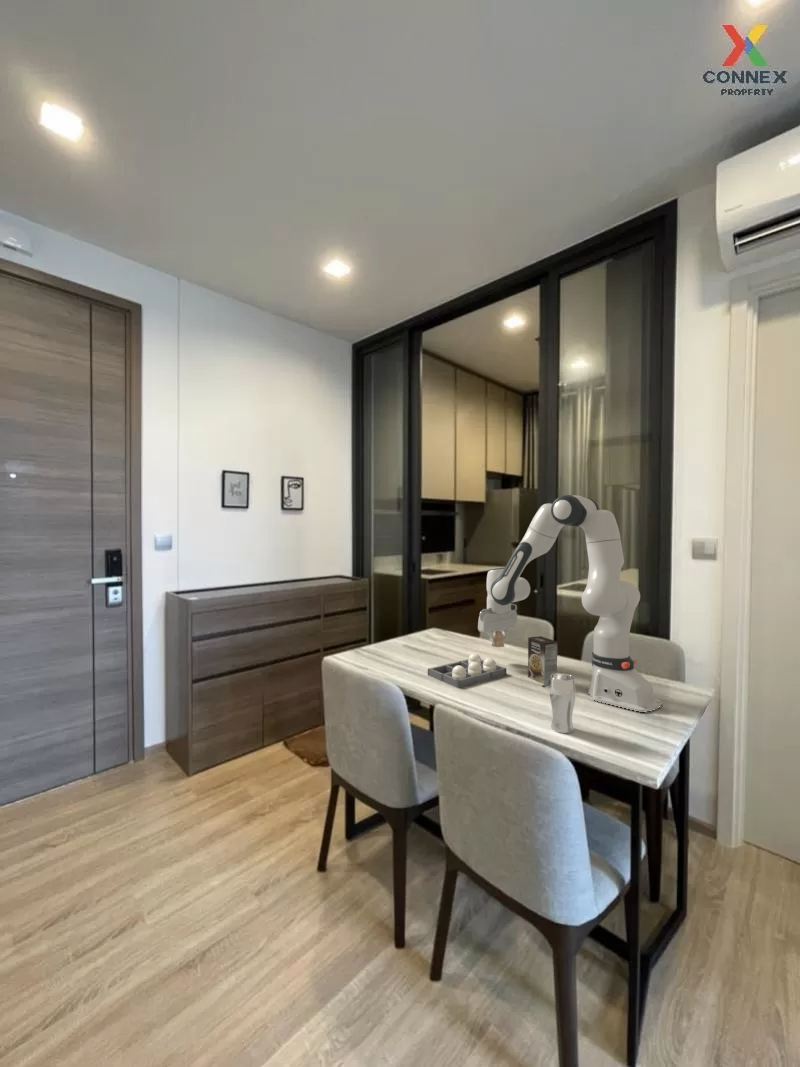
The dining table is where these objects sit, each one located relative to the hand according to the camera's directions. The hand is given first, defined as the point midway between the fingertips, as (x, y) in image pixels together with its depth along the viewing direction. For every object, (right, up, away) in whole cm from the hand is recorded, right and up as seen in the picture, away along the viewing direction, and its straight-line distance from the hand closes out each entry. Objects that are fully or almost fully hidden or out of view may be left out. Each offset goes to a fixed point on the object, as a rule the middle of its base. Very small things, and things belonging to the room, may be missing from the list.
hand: (498, 640), depth 191 cm
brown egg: (0, -2, 0) cm, 2 cm away
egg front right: (-6, -10, -14) cm, 18 cm away
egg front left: (-19, -10, -23) cm, 31 cm away
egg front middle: (-13, -10, -18) cm, 24 cm away
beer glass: (+6, -12, -59) cm, 60 cm away
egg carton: (-15, -11, -15) cm, 24 cm away
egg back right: (-11, -10, -7) cm, 16 cm away
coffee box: (+12, -11, -20) cm, 26 cm away
